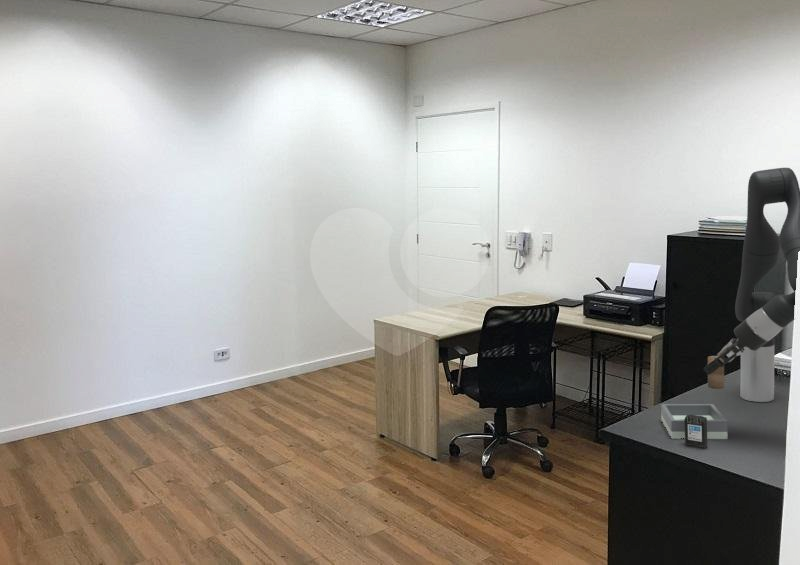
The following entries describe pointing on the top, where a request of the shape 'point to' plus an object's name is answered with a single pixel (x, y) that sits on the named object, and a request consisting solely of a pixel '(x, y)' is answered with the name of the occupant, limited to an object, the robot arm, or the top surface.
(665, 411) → the socket box
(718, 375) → the peg
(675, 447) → the top surface
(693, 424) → the ink cartridge
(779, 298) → the robot arm
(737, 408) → the top surface
